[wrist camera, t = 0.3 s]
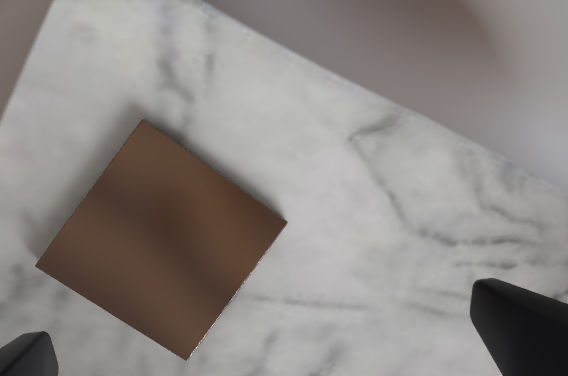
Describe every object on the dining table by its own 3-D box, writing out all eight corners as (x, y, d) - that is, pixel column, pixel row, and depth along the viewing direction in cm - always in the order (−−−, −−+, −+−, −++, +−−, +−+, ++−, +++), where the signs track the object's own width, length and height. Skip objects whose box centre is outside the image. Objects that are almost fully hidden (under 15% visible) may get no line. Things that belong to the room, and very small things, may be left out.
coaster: (188, 356, 24) (186, 362, 23) (39, 263, 22) (33, 266, 22) (287, 221, 24) (288, 222, 23) (145, 119, 22) (142, 118, 22)
